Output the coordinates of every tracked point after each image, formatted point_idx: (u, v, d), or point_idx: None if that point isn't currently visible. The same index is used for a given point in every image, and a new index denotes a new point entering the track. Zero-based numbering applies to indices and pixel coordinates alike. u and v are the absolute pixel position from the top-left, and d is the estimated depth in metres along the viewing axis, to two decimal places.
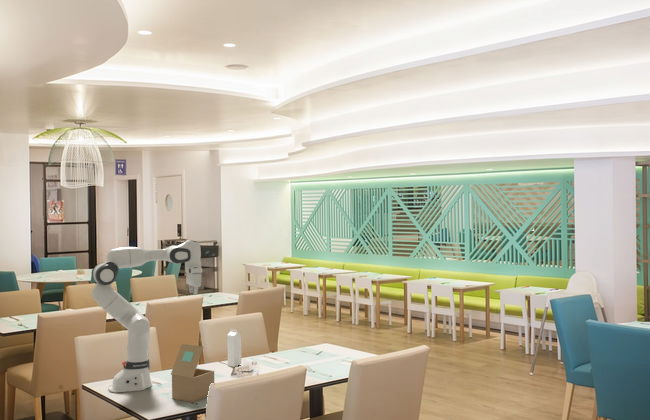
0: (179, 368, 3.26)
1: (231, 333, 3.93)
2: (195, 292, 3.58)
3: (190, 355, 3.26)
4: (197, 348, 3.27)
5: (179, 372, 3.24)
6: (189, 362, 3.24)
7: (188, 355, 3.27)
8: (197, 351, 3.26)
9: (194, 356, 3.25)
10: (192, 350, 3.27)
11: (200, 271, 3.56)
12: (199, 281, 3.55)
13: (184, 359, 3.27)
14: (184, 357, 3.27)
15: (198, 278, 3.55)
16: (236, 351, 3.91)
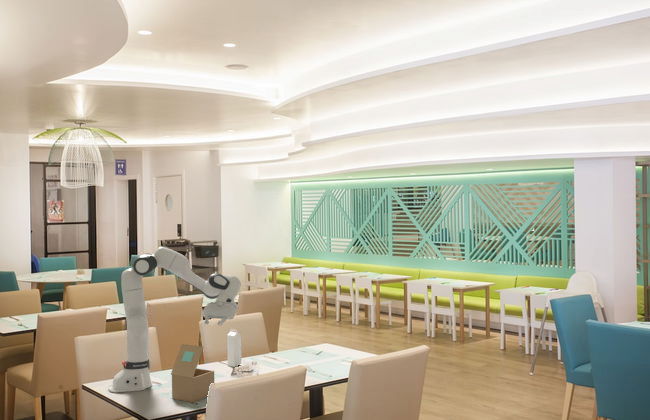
0: (179, 368, 3.26)
1: (231, 333, 3.93)
2: (221, 322, 3.41)
3: (190, 355, 3.26)
4: (197, 348, 3.27)
5: (179, 372, 3.24)
6: (189, 362, 3.24)
7: (188, 355, 3.27)
8: (197, 351, 3.26)
9: (194, 356, 3.25)
10: (192, 350, 3.27)
11: (237, 307, 3.48)
12: (234, 315, 3.43)
13: (184, 359, 3.27)
14: (184, 357, 3.27)
15: (234, 311, 3.44)
16: (236, 351, 3.91)
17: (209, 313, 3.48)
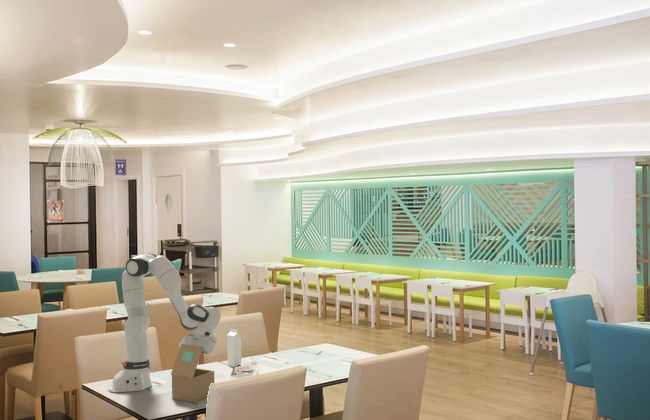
0: (179, 368, 3.26)
1: (231, 333, 3.93)
2: None
3: (190, 355, 3.26)
4: (197, 348, 3.26)
5: (179, 372, 3.24)
6: (189, 362, 3.24)
7: (187, 355, 3.27)
8: (197, 351, 3.26)
9: (194, 356, 3.25)
10: (192, 350, 3.27)
11: (215, 340, 3.32)
12: (212, 349, 3.28)
13: (184, 359, 3.27)
14: (184, 357, 3.27)
15: (212, 346, 3.28)
16: (236, 351, 3.91)
17: None
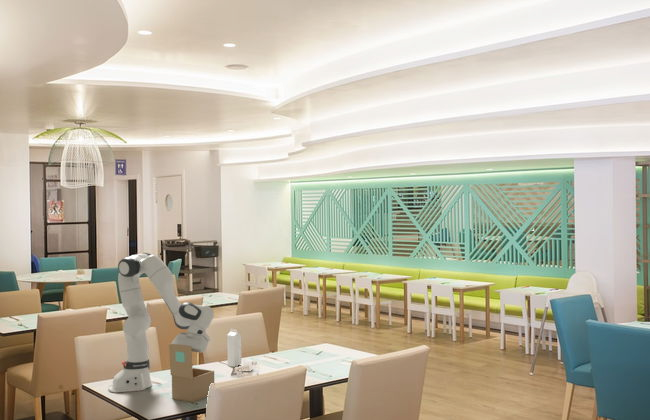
0: (176, 368, 3.24)
1: (231, 333, 3.93)
2: None
3: (182, 355, 3.21)
4: (186, 348, 3.20)
5: (178, 373, 3.23)
6: (183, 363, 3.21)
7: (179, 355, 3.22)
8: (187, 351, 3.19)
9: (186, 356, 3.20)
10: (182, 350, 3.21)
11: (208, 339, 3.28)
12: (205, 347, 3.23)
13: (177, 360, 3.23)
14: (177, 358, 3.23)
15: (205, 344, 3.24)
16: (236, 351, 3.91)
17: None
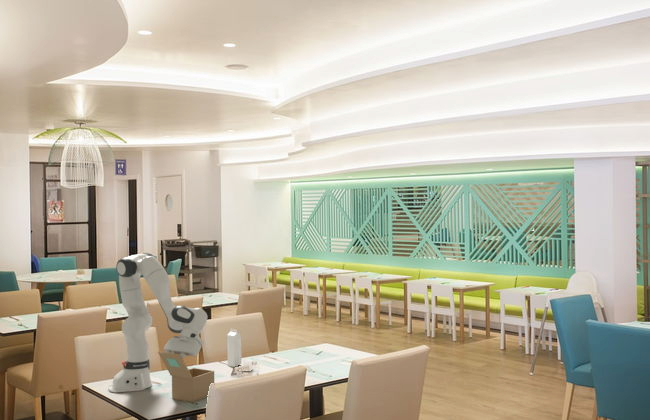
0: (174, 371, 3.22)
1: (231, 333, 3.93)
2: None
3: (174, 362, 3.17)
4: (176, 356, 3.14)
5: (177, 374, 3.23)
6: (178, 367, 3.18)
7: (172, 361, 3.18)
8: (178, 358, 3.14)
9: (179, 362, 3.16)
10: (172, 357, 3.16)
11: (202, 342, 3.23)
12: (198, 351, 3.19)
13: (172, 365, 3.19)
14: (170, 363, 3.19)
15: (198, 348, 3.19)
16: (236, 351, 3.91)
17: (171, 349, 3.23)
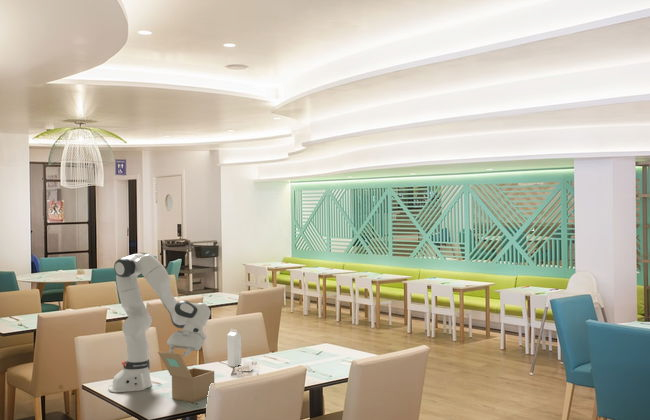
0: (174, 371, 3.22)
1: (231, 333, 3.93)
2: (186, 354, 3.18)
3: (174, 362, 3.17)
4: (175, 356, 3.14)
5: (177, 374, 3.23)
6: (178, 367, 3.18)
7: (172, 362, 3.18)
8: (178, 358, 3.14)
9: (179, 362, 3.16)
10: (172, 357, 3.16)
11: (204, 337, 3.25)
12: (200, 346, 3.20)
13: (172, 365, 3.19)
14: (170, 363, 3.19)
15: (201, 342, 3.21)
16: (236, 351, 3.91)
17: (174, 343, 3.25)
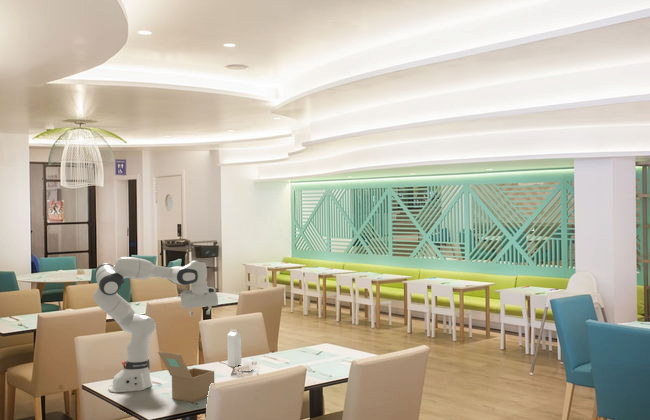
0: (174, 371, 3.22)
1: (231, 333, 3.93)
2: None
3: (174, 362, 3.17)
4: (175, 356, 3.14)
5: (177, 374, 3.23)
6: (178, 367, 3.18)
7: (172, 362, 3.18)
8: (178, 358, 3.14)
9: (179, 362, 3.16)
10: (172, 357, 3.16)
11: None
12: None
13: (172, 365, 3.19)
14: (170, 363, 3.19)
15: None
16: (236, 351, 3.91)
17: (192, 306, 3.53)
